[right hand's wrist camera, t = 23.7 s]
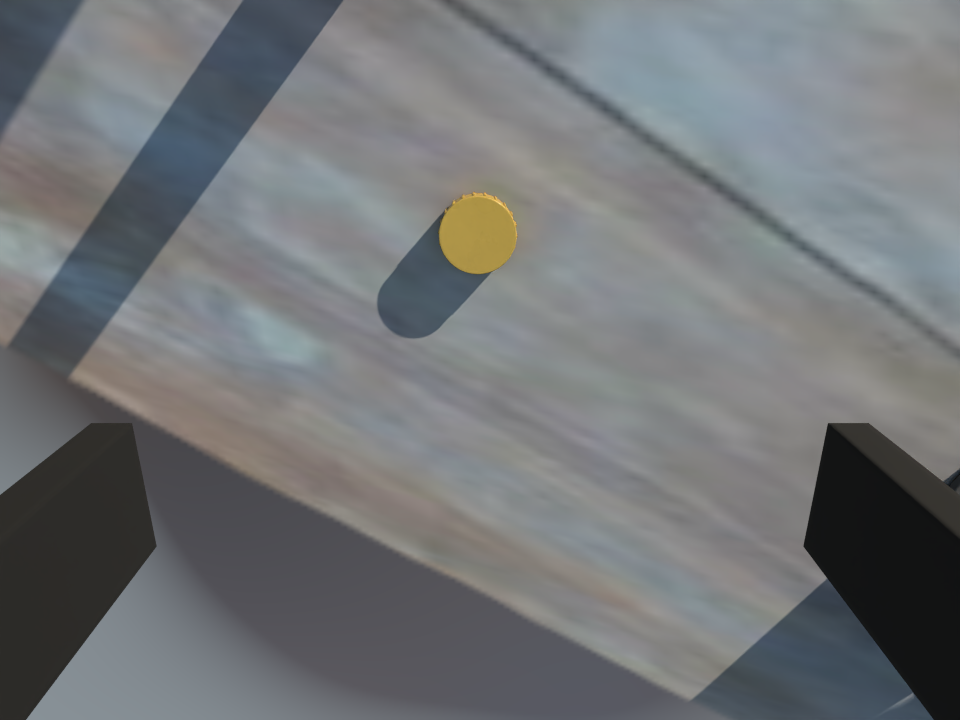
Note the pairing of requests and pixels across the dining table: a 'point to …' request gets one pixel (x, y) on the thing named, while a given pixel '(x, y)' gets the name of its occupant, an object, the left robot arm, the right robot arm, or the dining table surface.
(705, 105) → the dining table surface
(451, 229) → the lid
